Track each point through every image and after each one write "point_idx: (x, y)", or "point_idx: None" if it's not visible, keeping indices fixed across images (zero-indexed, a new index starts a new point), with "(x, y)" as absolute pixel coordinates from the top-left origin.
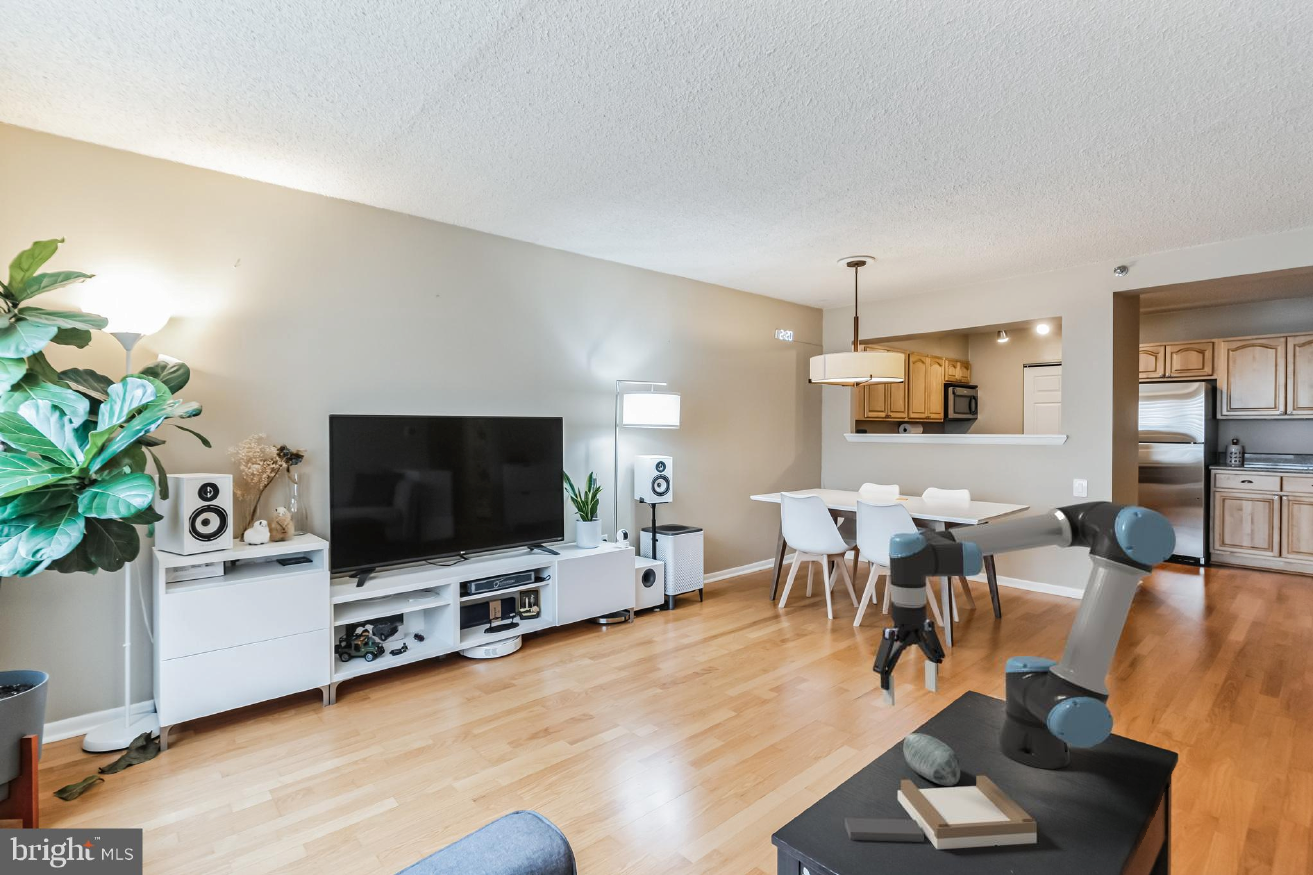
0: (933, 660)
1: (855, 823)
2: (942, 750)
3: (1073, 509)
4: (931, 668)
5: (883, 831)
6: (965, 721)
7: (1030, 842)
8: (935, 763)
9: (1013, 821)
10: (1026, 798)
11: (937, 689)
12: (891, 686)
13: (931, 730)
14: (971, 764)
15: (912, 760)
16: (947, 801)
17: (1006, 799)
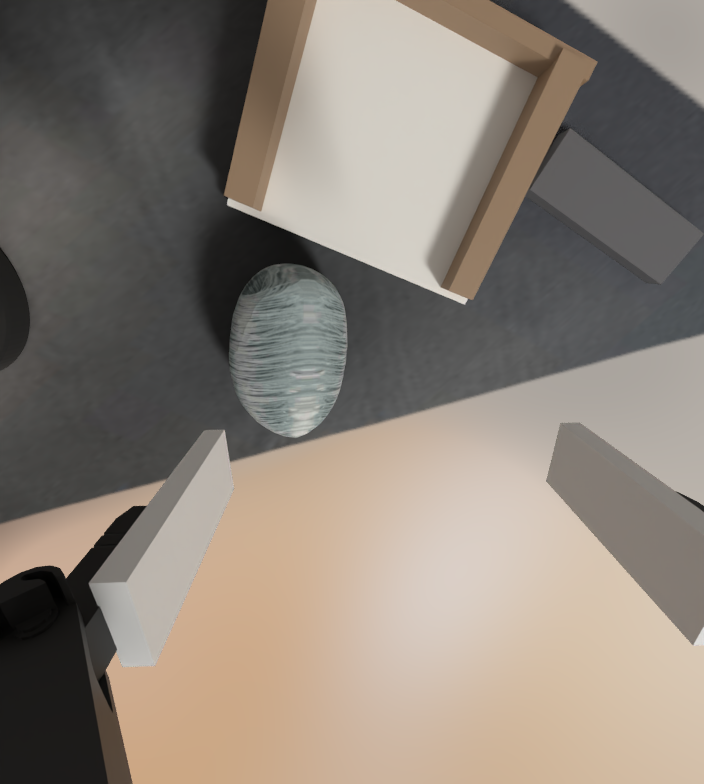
0: (88, 637)
1: (663, 254)
2: (291, 310)
3: None
4: (164, 564)
5: (641, 193)
6: (17, 475)
7: None
8: (334, 299)
9: None
10: (139, 134)
11: (199, 437)
12: (679, 495)
13: (137, 478)
14: (158, 329)
15: (344, 367)
16: (394, 201)
17: (275, 47)
